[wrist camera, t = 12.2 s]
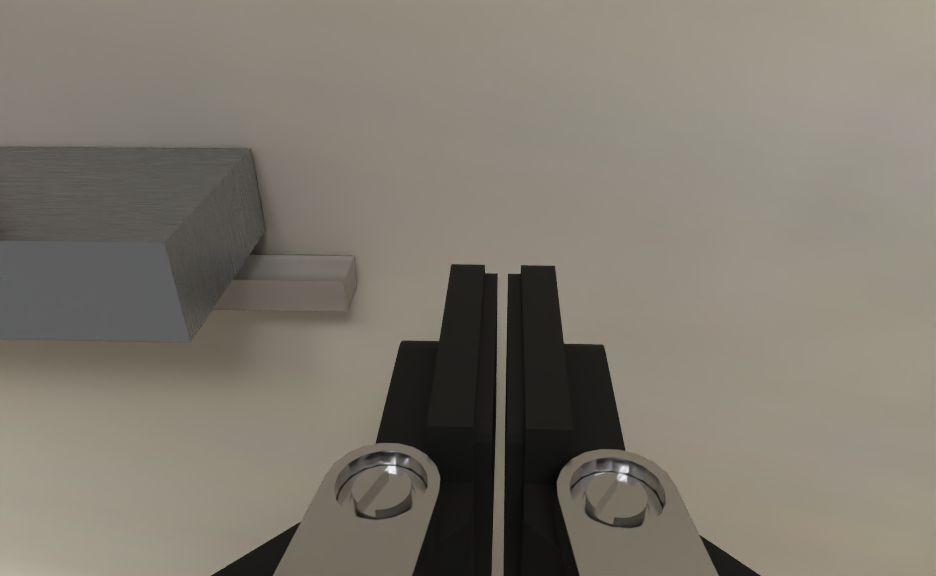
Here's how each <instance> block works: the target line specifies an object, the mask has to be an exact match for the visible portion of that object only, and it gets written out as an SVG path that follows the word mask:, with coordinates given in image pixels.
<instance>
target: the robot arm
mask: <svg viewBox="0 0 936 576" xmlns="http://www.w3.org/2000/svg"><path fill="white" fill-rule="evenodd" d="M497 280H498V275H497V274H485V265H461V264H452V265H451V271H450V277H449V283H448V290H447V296H446V302H445V309H444V315H443V321H442V328H441V334H440V340H439V341H402V342H401V343H400V346H399V350H398V354H397V358H396V362H395V366H394V370H393V374H392V379H391V383H390V387H389V391H388V395H387V399H386V403H385V407H384V411H383V416H382V420H381V424H380V428H379V432H378V436H377V440H376V444H373V445H368V446H363V447H361V448H359V449H356V450H354V451H352V452H349V453H347V454H346V455H345V456H343V457H342V458H341V459H339V460H338V461H337V462H335V463H334V465H333V466H332V467H331V469H330V470H329V471H328V473H327V474H326V475H325V477H324V479H323V481H322V483H321V485H320V487H319V489H318V490H317V492H316V494H315V496H314V498H313V500H312V502H311V504H310V506H309V508H308V510H307V511H306V513H305V515H304V517H303V519H302V521H301V522H300V523H298V524H296V525H295V526H293V527H291V528H290V529H288V530H286V531H285V532H283V533H281V534H280V535H278V536H276V537H275V538H273V539H271V540H270V541H268V542H266V543H265V544H263V545H261V546H260V547H258V548H256V549H255V550H253V551H251V552H250V553H248V554H246V555H245V556H243V557H241V558H240V559H238V560H236V561H235V562H233V563H231V564H230V565H228V566H226V567H225V568H223V569H221V570H220V571H218V572H217V573H215V574H213V575H212V576H491V573H492V538H493V503H494V469H495V434H496V373H497ZM504 576H760V575H759V574H757V573H756V572H754V571H753V570H751V569H750V568H748V567H747V566H745V565H744V564H742V563H741V562H739V561H738V560H736V559H735V558H733V557H732V556H730V555H729V554H727V553H726V552H724V551H723V550H721V549H720V548H718V547H717V546H715V545H714V544H712V543H711V542H709V541H708V540H706V539H705V538H703V537H702V536H700V535H699V534H698V531H697V529H696V527H695V525H694V523H693V521H692V519H691V517H690V515H689V513H688V510H687V508H686V506H685V504H684V502H683V500H682V498H681V496H680V494H679V492H678V490H677V487H676V486H675V484H674V483H673V481H672V480H671V478H670V477H669V476H668V474H667V473H666V472H665V471H664V470H662V469H661V468H660V467H659V466H658V465H656V464H655V463H654V462H652V461H650V460H648V459H646V458H644V457H642V456H640V455H638V454H635V453H631V452H627V451H625V446H624V441H623V437H622V432H621V427H620V422H619V417H618V412H617V407H616V402H615V397H614V392H613V387H612V382H611V377H610V372H609V367H608V362H607V357H606V353H605V349H604V346H603V345H594V344H564V342H563V333H562V324H561V316H560V307H559V298H558V290H557V281H556V272H555V266H528V265H521V274H508V306H507V358H506V410H505V496H504Z"/></svg>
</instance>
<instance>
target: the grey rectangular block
mask: <svg viewBox="0 0 936 576" xmlns="http://www.w3.org/2000/svg"><path fill="white" fill-rule="evenodd" d="M264 232H265V226H264V220H263V215H262V209H261V204H260V198H259V192H258V187H257V181H256V176H255V170H254V164H253V159H252V153H251V149H249V148H71V147H0V339H35V340H86V341H136V342H187V343H190V342H191V341H192V339H193V338H194V336H195V335H196V333H197V332H198V330H199V329H200V327H201V326H202V324H203V323H204V321H205V320H206V318H207V317H208V315H209V314H210V312H211V311H212V310H213V308H214V307H215V305H216V304H217V302H218V301H219V299H220V298H221V296H222V295H223V293H224V292H225V290H226V289H227V287H228V286H229V284H230V283H231V281H232V280H233V278H234V277H235V275H236V274H237V272H238V271H239V269H240V268H241V266H242V265H243V263H244V262H245V260H246V259H247V257H248V256H249V254H250V253H251V251H252V250H253V248H254V247H255V245H256V244H257V242H258V241H259V239H260V238H261V236H262V235H263V233H264Z"/></svg>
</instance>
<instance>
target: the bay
mask: <svg viewBox="0 0 936 576" xmlns="http://www.w3.org/2000/svg"><path fill="white" fill-rule="evenodd" d="M356 286H357V280H356V271H355V262H354V256H306V255H249V256H248V257H247V259H246V260H245V262H244V263H243V265H242V266H241V268H240V269H239V271H238V272H237V274H236V275H235V277H234V278H233V280H232V281H231V283H230V284H229V286H228V287H227V289H226V290H225V292H224V293H223V295H222V296H221V298H220V299H219V301H218V302H217V304H216V305H215V307H214V308H213V309H224V310H282V311H340V312H347V311H348V308H349V306H350V303H351V300H352V297H353V295H354V292H355V289H356Z"/></svg>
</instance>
